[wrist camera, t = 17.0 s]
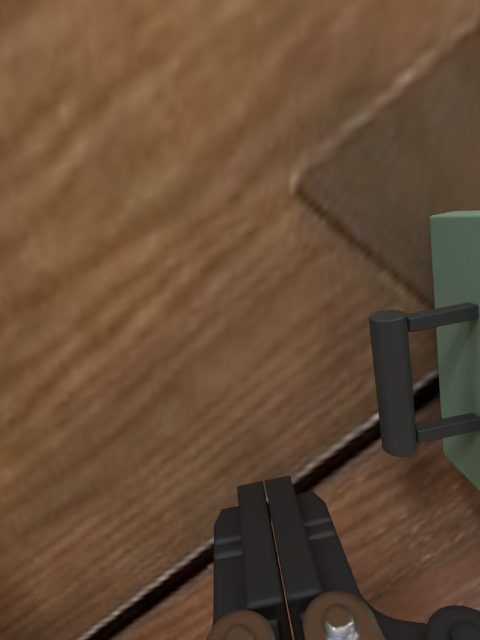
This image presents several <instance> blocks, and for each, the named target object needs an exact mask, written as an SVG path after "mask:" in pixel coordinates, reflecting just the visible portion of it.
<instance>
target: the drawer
mask: <svg viewBox="0 0 480 640" xmlns="http://www.w3.org/2000/svg"><path fill="white" fill-rule="evenodd" d="M430 232H431V249H432V266H433V283H434V300H435V309H432V310H426V311H421V312H416V313H411V314H406V313H405V312H402V311H397V310H388V311H380V312H376V313H374V314H372V315H370V316H369V324H370V334H371V343H372V353H373V362H374V372H375V382H376V391H377V401H378V410H379V420H380V429H381V439H382V447H383V449H384V451H385V452H387V453H388V454H390V455H393V456H399V457H404V456H409V455H412V454H413V453H415V451H416V450H417V442H418V443H421V442H426V441H431V440H436V439H441V438H443V453H444V455H445V456H446V457H447V458H448V459H449V460H450V461H451V462H452V463H453V464H454V465H455V466H456V467H457V468H458V469H459V470H460V471H461V472H462V473H463V474H464V475H465V476H466V477H467V478H468V479H469V481H470V482H471V483H472V484H473V485H474V486H475V487H476V488H477V489H478V490H479V491H480V210H479V211H453V212H448V213H442V214H437V215H432V216H430ZM434 327H436V334H437V351H438V368H439V386H440V403H441V419H438V420H433V421H428V422H423V423H418V424H415V414H414V401H413V389H412V376H411V363H410V350H409V338H408V331H409V332H414V331H419V330H424V329H429V328H434Z"/></svg>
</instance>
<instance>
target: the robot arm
mask: <svg viewBox="0 0 480 640" xmlns="http://www.w3.org/2000/svg"><path fill="white" fill-rule="evenodd" d="M265 485H266V491H267V496H268V501H269V507H270V512H271V518H272V523H273V528H274V534H275V539H276V545H277V550H278V555H279V561H280V566H281V572H282V577H283V583H284V588H285V593H286V599H287V604H288V609H289V614H290V619H291V624H292V629H293V633H294V638H295V640H480V611H478V610H475V609H472V608H469V607H464V606H447V607H444V608H441V609H439V610H437V611H436V612H435V613H434V614H433V615H432V616H431V617H430V619H429V621H428V623H427V624H423V623H416V622H409V621H402V620H397V619H393V618H391V617H388V616H386V615H384V614H382V613H380V612H378V611H377V610H375V609H374V608H373V607H372V606H371V605H369V604H368V602H367V601H366V600H365V599H364V598H363V596H362V595H361V593H360V591H359V589H358V587H357V584H356V582H355V579H354V576H353V574H352V571H351V569H350V566H349V563H348V561H347V558H346V556H345V553H344V550H343V548H342V545H341V543H340V540H339V537H338V535H337V533H336V530H335V527H334V524H333V522H332V520H331V517H330V514H329V511H328V509H327V506H326V504H325V502H324V501H323V500H322V499H320V498H319V497H318V496H317V495H316V494H315V493H314V492H313V491H311V492H306V493H301V494H296V495H295V492H294V489H293V485H292V482H291V478H290V476H285V477H280V478H275V479H270V480H265ZM237 490H238V503H239V506H237V507H232V508H227V509H222V510H221V512H220V514H219V517H218V519H217V521H216V523H215V525H214V614H213V626H212V629H211V630H210V632H209V634H208V636H207V638H206V640H292V634H291V629H290V623H289V618H288V612H287V607H286V601H285V596H284V590H283V585H282V579H281V574H280V568H279V563H278V557H277V552H276V546H275V541H274V536H273V530H272V525H271V520H270V516H269V511H268V506H267V501H266V496H265V491H264V486H263V481H261V482H256V483H251V484H246V485H241V486H237Z"/></svg>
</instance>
